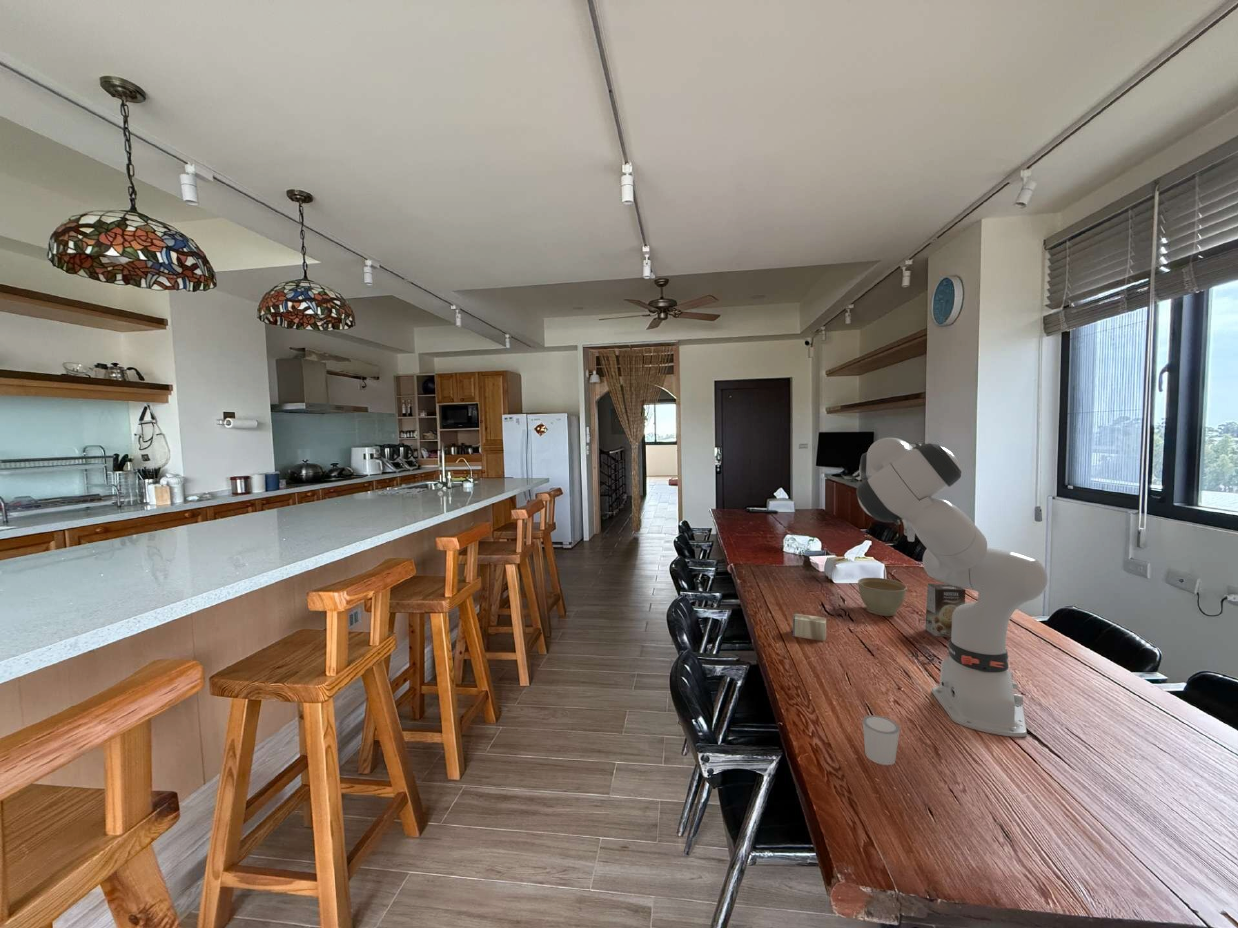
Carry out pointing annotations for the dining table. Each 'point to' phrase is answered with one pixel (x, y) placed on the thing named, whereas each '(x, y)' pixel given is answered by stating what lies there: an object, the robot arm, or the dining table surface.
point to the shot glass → (880, 739)
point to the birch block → (809, 627)
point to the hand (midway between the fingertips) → (909, 538)
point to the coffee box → (942, 607)
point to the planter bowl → (882, 595)
